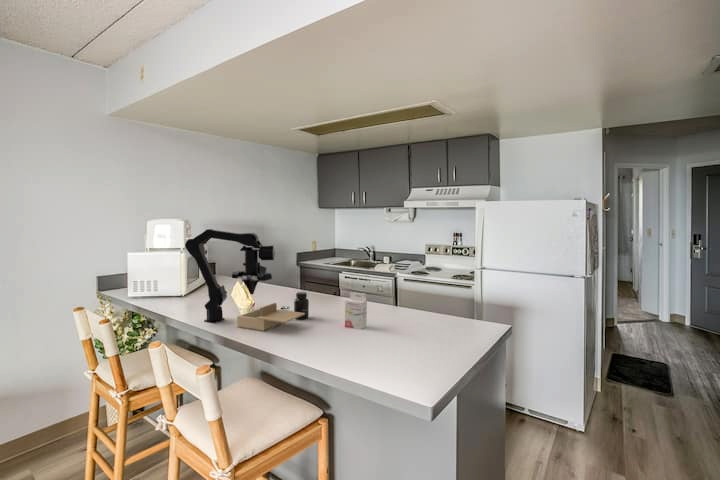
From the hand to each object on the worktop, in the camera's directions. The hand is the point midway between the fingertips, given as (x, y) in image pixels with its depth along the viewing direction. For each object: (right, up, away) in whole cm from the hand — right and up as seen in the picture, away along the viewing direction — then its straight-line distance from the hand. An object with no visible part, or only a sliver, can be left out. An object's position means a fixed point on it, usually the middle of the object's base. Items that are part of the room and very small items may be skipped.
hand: (251, 294), depth 172 cm
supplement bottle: (+22, -12, +4) cm, 26 cm away
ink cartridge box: (+48, -13, -9) cm, 51 cm away
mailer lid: (+16, -8, -12) cm, 21 cm away
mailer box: (+6, -13, -7) cm, 16 cm away
